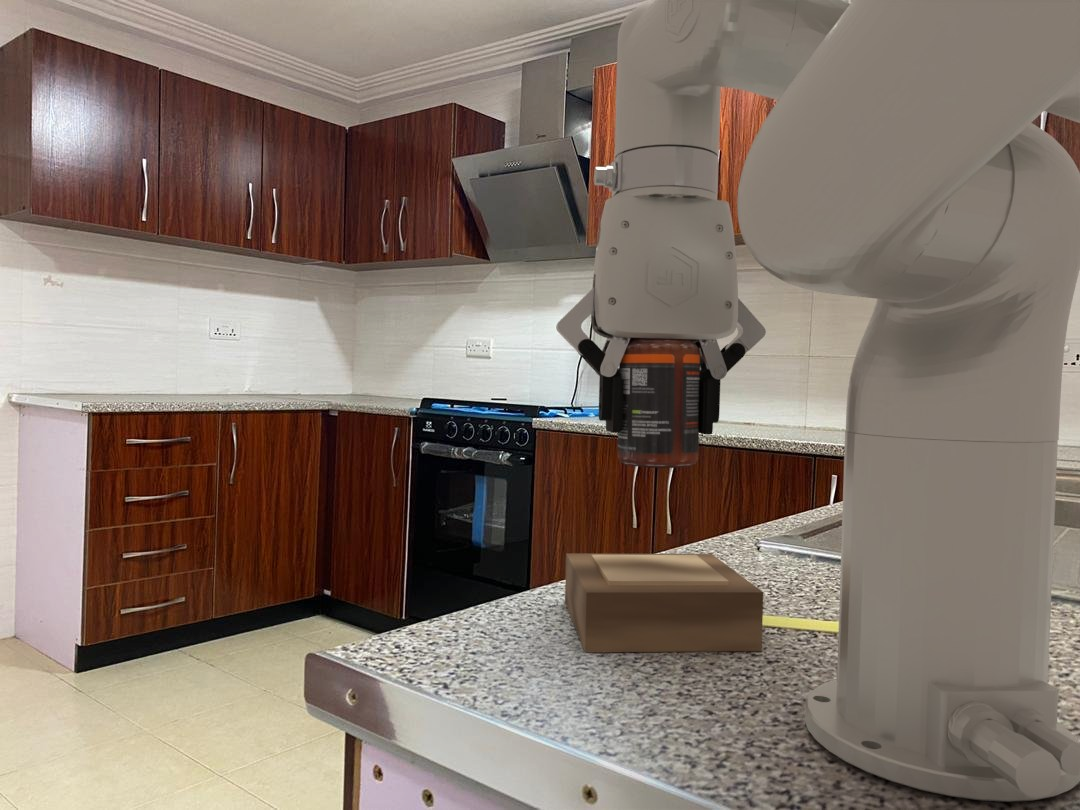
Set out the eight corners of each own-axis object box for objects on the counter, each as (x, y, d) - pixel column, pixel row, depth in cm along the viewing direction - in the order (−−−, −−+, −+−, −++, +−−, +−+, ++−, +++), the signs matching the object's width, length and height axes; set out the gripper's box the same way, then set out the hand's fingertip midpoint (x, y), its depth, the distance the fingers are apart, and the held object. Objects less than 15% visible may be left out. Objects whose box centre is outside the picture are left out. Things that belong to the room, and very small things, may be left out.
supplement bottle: (694, 462, 63) (698, 315, 63) (701, 471, 57) (706, 308, 57) (616, 459, 64) (620, 313, 63) (616, 468, 58) (620, 307, 58)
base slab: (761, 651, 55) (763, 587, 55) (585, 652, 54) (586, 588, 54) (710, 602, 67) (711, 550, 67) (564, 602, 66) (566, 549, 66)
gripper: (552, 167, 55) (545, 434, 56) (800, 178, 57) (791, 438, 57) (543, 192, 63) (537, 426, 63) (762, 201, 64) (754, 430, 65)
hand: (658, 429), depth 60 cm, fingers closed on supplement bottle, 6 cm apart
